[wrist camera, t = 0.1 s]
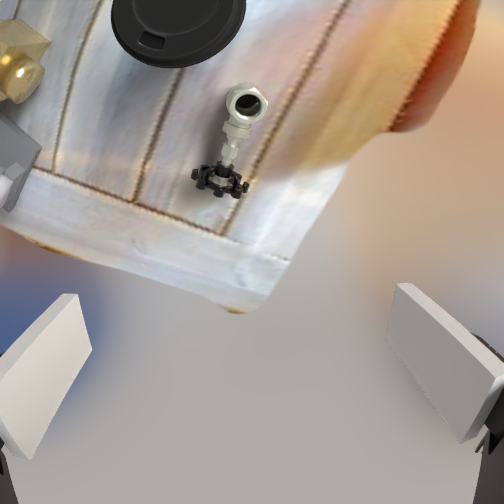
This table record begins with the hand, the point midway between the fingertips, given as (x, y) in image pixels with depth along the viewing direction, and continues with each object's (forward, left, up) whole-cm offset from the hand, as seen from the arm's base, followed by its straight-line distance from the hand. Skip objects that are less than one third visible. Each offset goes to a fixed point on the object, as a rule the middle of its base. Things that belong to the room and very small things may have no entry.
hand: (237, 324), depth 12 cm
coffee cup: (-6, -12, -28) cm, 31 cm away
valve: (-1, 0, -28) cm, 28 cm away
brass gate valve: (+9, -29, -28) cm, 41 cm away
